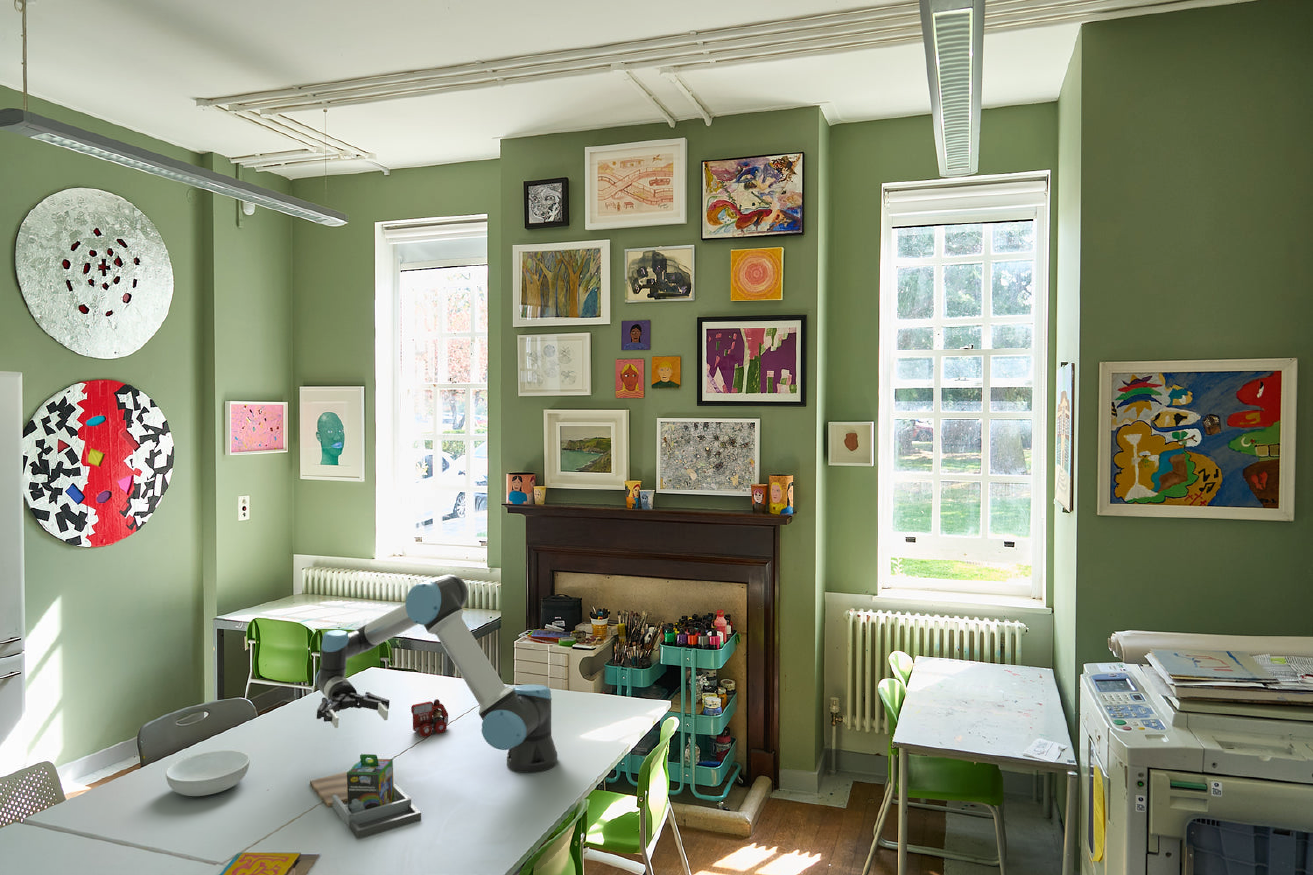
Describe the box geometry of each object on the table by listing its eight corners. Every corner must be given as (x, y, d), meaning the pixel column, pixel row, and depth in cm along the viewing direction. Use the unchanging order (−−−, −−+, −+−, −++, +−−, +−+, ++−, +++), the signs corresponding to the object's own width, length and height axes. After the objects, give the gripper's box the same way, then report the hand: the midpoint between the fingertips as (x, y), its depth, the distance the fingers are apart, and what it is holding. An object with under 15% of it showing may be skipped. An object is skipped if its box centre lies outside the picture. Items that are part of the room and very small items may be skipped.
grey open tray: (332, 806, 222) (332, 795, 222) (391, 790, 231) (391, 779, 231) (357, 838, 204) (357, 826, 204) (421, 820, 214) (420, 808, 214)
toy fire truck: (452, 731, 277) (451, 699, 277) (416, 739, 269) (415, 707, 269) (443, 725, 282) (443, 694, 282) (408, 733, 275) (408, 702, 275)
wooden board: (310, 784, 236) (309, 780, 236) (373, 768, 247) (373, 764, 247) (327, 807, 221) (327, 803, 221) (394, 789, 232) (394, 785, 232)
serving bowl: (155, 809, 221) (155, 784, 221) (178, 778, 241) (178, 754, 241) (241, 799, 226) (241, 774, 226) (256, 769, 246) (256, 746, 246)
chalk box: (394, 800, 225) (394, 746, 225) (380, 816, 216) (379, 760, 216) (362, 799, 226) (361, 745, 226) (346, 815, 217) (345, 758, 217)
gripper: (381, 699, 255) (405, 725, 238) (295, 711, 240) (314, 739, 223) (383, 675, 255) (407, 699, 238) (297, 686, 240) (316, 712, 223)
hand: (362, 719), depth 230 cm, fingers open, 13 cm apart
